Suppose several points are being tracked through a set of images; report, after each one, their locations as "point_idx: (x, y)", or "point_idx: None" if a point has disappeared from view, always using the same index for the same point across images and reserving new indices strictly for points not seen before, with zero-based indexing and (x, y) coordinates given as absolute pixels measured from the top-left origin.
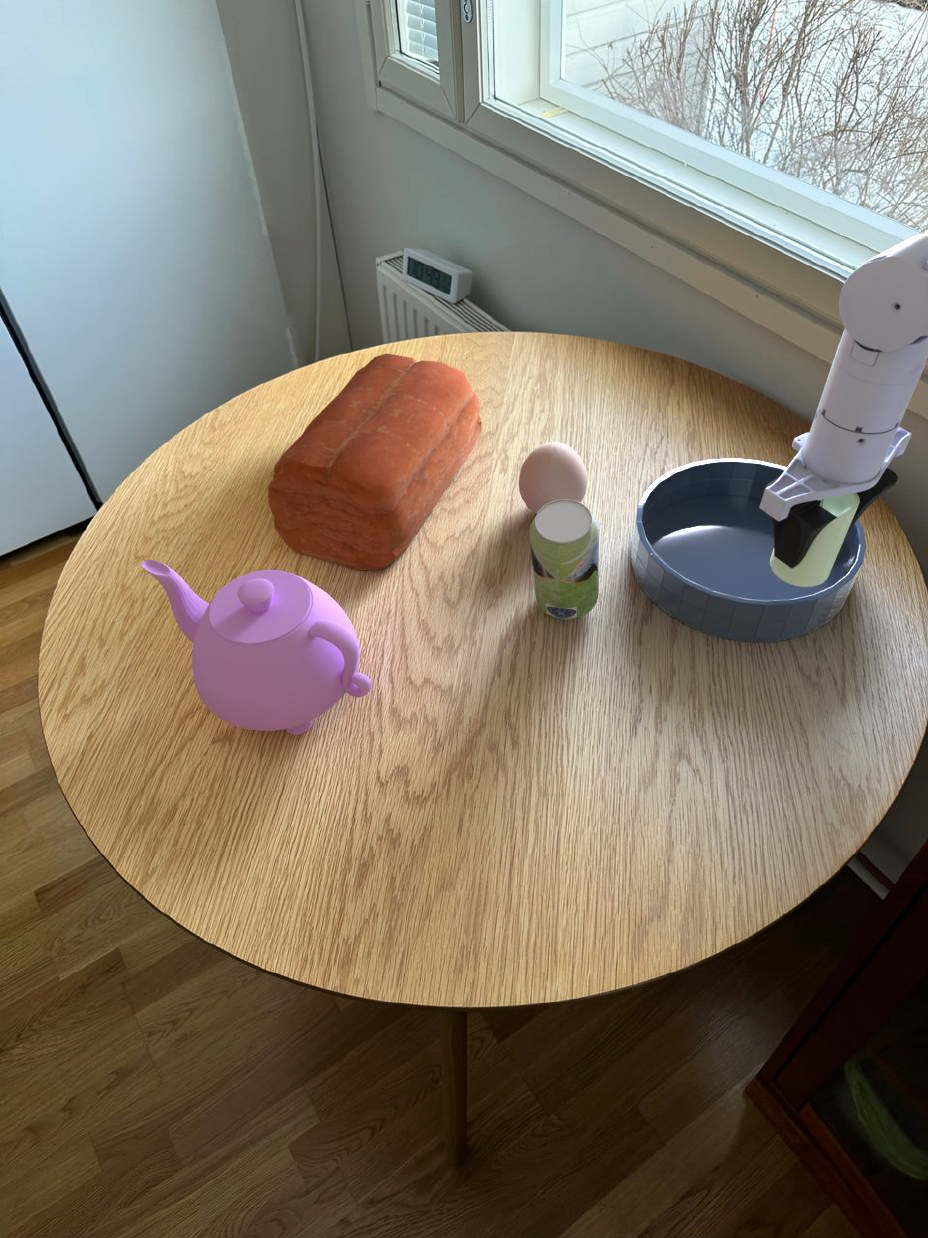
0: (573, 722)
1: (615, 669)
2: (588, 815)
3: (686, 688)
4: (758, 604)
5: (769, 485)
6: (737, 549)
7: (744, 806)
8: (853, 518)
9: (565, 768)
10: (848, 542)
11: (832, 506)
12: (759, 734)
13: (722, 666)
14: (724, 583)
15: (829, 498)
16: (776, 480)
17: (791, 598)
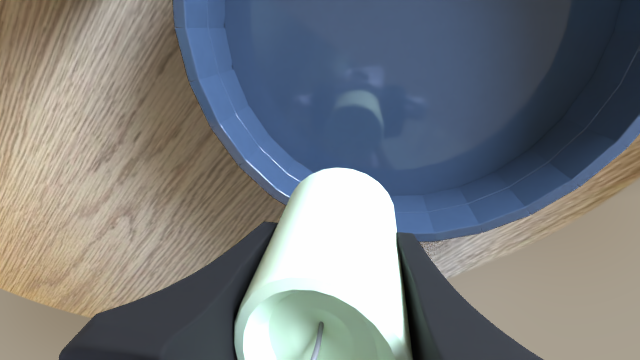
0: (36, 117)
1: (110, 86)
2: (23, 204)
3: (176, 161)
4: (264, 189)
5: (76, 353)
6: (424, 7)
7: (153, 273)
8: None
9: (14, 156)
10: (556, 155)
11: (346, 358)
12: (210, 242)
13: (233, 164)
14: (336, 61)
15: (367, 343)
16: (119, 355)
17: (392, 149)
